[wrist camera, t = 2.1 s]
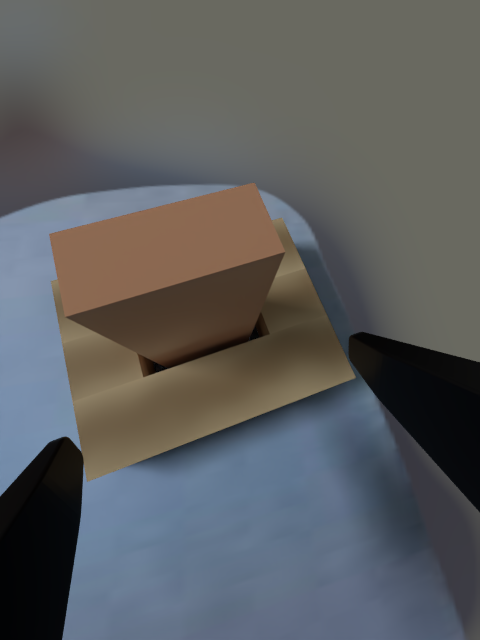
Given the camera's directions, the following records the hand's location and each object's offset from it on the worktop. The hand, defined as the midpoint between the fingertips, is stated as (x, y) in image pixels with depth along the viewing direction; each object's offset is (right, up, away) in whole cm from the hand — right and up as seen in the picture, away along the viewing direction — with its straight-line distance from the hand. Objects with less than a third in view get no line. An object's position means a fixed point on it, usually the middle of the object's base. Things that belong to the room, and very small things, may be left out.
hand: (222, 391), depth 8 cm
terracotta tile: (-2, +1, +12) cm, 12 cm away
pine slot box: (-2, +1, +12) cm, 12 cm away
